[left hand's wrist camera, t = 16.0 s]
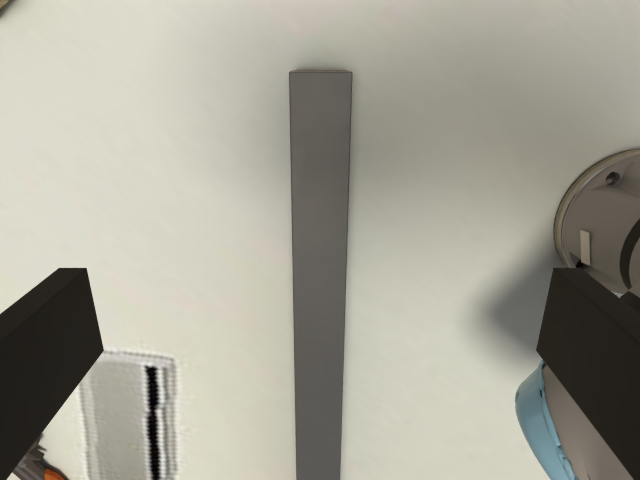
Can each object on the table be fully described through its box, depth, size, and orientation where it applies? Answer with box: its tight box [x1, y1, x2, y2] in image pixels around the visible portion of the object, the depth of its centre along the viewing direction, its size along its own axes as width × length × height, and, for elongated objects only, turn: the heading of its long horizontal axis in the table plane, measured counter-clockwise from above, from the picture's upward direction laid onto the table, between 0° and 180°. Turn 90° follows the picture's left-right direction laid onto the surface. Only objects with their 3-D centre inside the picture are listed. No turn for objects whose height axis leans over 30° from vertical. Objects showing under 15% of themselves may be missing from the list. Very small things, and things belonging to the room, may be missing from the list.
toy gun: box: [13, 437, 64, 480], centre depth 59 cm, size 3×19×10 cm
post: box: [289, 70, 352, 480], centre depth 53 cm, size 73×5×8 cm, turn 0°
